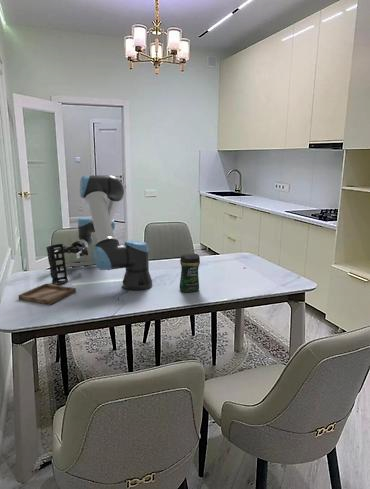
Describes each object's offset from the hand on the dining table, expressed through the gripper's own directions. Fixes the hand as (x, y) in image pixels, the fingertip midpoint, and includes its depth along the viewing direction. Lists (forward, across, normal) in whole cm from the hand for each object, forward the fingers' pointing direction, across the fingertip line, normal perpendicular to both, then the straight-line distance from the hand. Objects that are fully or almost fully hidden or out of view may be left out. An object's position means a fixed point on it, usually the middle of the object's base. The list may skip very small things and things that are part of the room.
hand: (64, 255), depth 200 cm
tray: (+28, -4, -12) cm, 31 cm away
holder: (+10, 0, -12) cm, 16 cm away
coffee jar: (+12, -69, -12) cm, 71 cm away
